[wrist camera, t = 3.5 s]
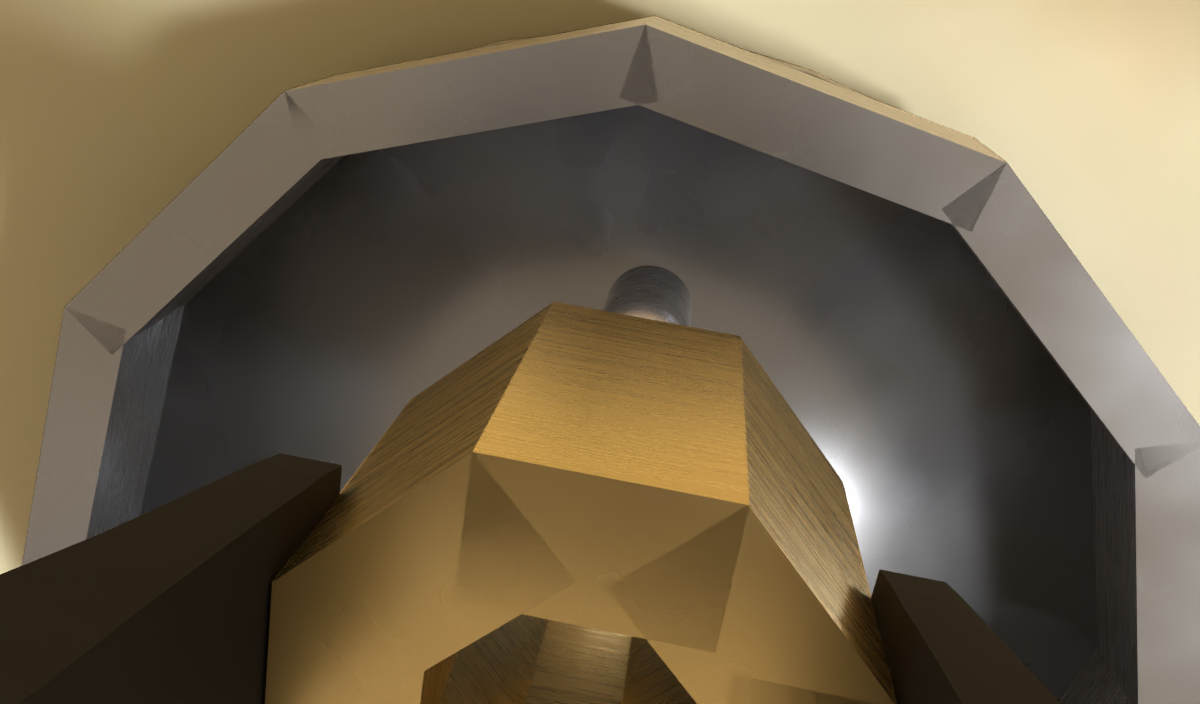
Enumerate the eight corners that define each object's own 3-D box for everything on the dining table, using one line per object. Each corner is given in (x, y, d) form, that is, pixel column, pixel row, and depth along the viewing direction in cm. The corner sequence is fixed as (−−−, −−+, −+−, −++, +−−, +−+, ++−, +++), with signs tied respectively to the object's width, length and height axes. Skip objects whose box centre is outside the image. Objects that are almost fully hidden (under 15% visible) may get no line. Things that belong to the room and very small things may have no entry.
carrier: (560, 1037, 25) (532, 1221, 21) (-57, 464, 21) (-218, 570, 18) (1341, 645, 19) (1485, 807, 16) (684, -249, 15) (671, -311, 12)
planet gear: (566, 759, 14) (507, 1054, 10) (318, 461, 13) (145, 665, 9) (911, 577, 12) (994, 839, 8) (663, 226, 11) (632, 347, 7)
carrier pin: (645, 352, 18) (627, 439, 15) (592, 290, 18) (563, 367, 15) (709, 303, 18) (706, 383, 14) (657, 240, 17) (641, 307, 14)
